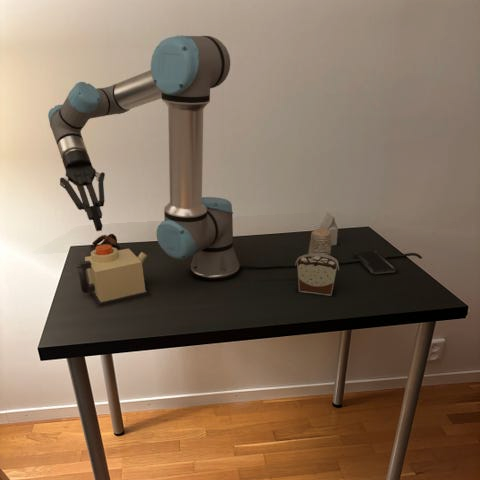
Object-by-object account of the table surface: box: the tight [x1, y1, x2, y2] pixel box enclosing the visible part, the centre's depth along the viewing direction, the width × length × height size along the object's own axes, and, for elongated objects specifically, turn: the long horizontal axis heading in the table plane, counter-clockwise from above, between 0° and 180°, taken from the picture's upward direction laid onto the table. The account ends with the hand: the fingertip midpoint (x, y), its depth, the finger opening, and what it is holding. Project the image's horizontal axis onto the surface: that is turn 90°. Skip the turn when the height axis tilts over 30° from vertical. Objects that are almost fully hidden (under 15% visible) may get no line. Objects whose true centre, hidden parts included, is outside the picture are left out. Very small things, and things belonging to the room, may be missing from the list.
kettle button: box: [96, 244, 112, 255], centre depth 140 cm, size 4×4×2 cm
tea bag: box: [320, 211, 339, 246], centre depth 174 cm, size 4×7×10 cm, turn 12°
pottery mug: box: [89, 233, 122, 252], centre depth 169 cm, size 12×10×8 cm
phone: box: [355, 251, 397, 275], centre depth 158 cm, size 8×1×15 cm
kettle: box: [84, 247, 147, 302], centre depth 142 cm, size 13×12×12 cm
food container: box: [294, 253, 340, 297], centre depth 141 cm, size 12×6×10 cm, turn 71°
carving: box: [307, 228, 332, 256], centre depth 155 cm, size 6×8×12 cm
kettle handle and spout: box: [76, 251, 149, 307], centre depth 142 cm, size 20×13×11 cm, turn 119°
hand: (99, 228), depth 138 cm, fingers closed
